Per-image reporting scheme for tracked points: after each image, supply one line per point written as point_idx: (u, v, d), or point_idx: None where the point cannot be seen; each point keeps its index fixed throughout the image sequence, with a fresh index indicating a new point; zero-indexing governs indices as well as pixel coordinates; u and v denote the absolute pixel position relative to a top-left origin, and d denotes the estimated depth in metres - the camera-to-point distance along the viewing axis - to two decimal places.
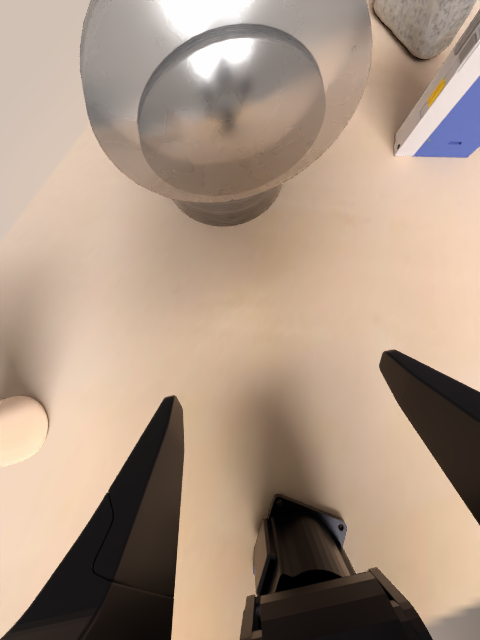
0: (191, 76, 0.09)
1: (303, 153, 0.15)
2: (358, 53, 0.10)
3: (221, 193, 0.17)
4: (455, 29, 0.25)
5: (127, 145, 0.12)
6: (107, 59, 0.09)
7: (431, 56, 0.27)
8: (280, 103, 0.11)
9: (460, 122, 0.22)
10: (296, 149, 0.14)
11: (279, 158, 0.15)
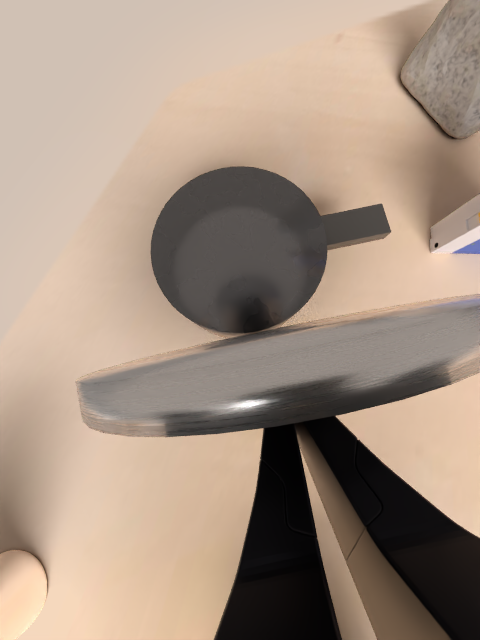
0: None
1: None
2: None
3: None
4: None
5: None
6: None
7: (468, 136, 0.24)
8: None
9: None
10: None
11: None
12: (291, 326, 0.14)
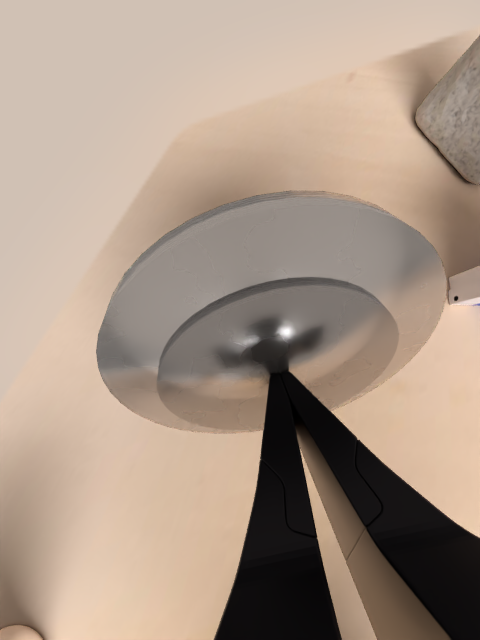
0: (225, 327, 0.07)
1: (370, 381, 0.11)
2: (430, 289, 0.08)
3: (262, 426, 0.13)
4: None
5: (144, 389, 0.10)
6: (126, 320, 0.07)
7: None
8: (340, 340, 0.08)
9: None
10: (361, 378, 0.11)
11: (339, 388, 0.11)
12: None
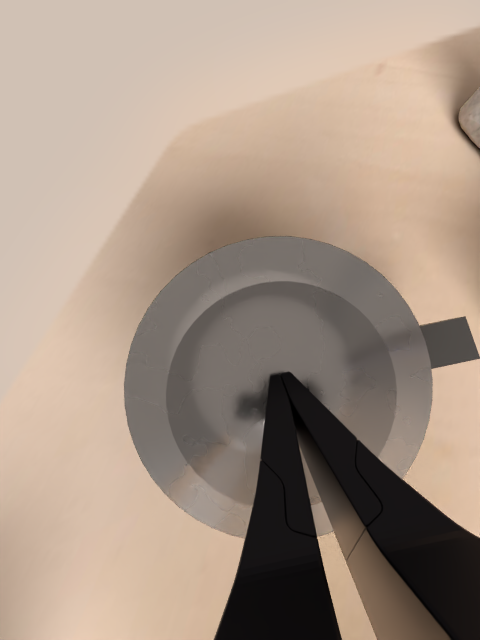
0: (226, 312, 0.10)
1: (391, 415, 0.10)
2: (388, 298, 0.10)
3: None
4: None
5: (154, 404, 0.10)
6: (160, 313, 0.10)
7: None
8: (325, 337, 0.10)
9: None
10: (376, 405, 0.10)
11: (356, 423, 0.10)
12: None
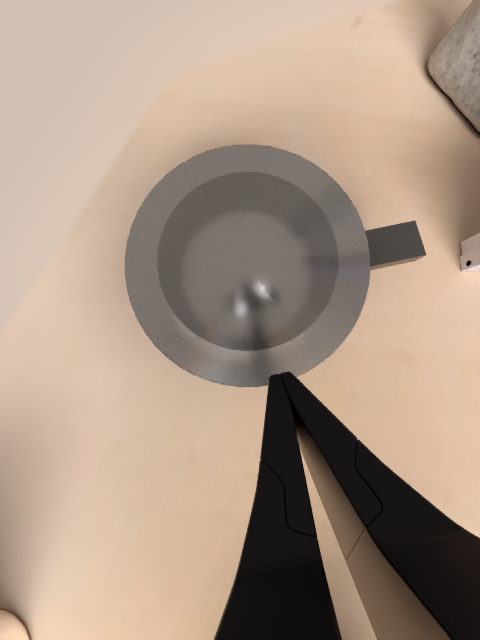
0: (204, 194, 0.13)
1: (334, 274, 0.13)
2: (331, 190, 0.13)
3: (246, 345, 0.12)
4: None
5: (148, 272, 0.13)
6: (154, 202, 0.13)
7: None
8: (280, 213, 0.13)
9: None
10: (322, 266, 0.13)
11: (306, 280, 0.13)
12: None
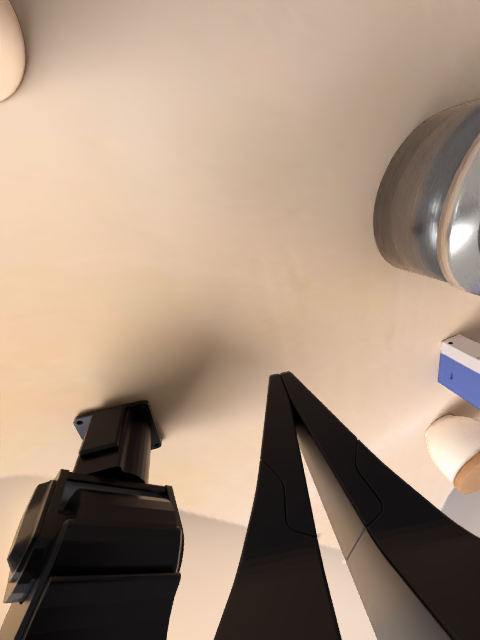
0: None
1: None
2: None
3: None
4: None
5: None
6: None
7: None
8: None
9: (470, 379, 0.30)
10: None
11: None
12: None
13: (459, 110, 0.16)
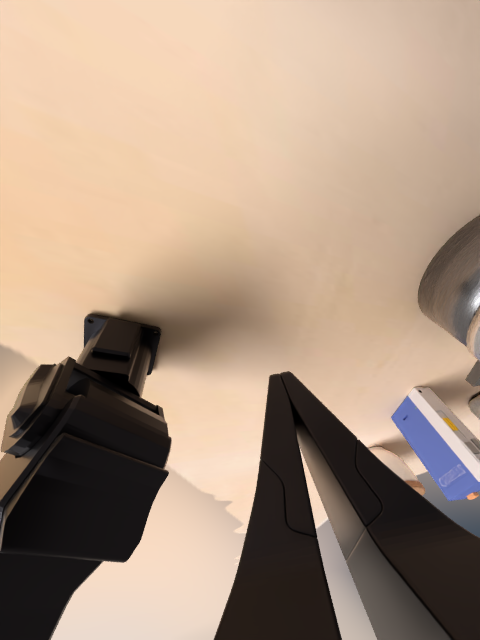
0: None
1: None
2: None
3: None
4: None
5: None
6: None
7: (470, 403, 0.39)
8: None
9: (420, 426, 0.34)
10: None
11: None
12: None
13: None
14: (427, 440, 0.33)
